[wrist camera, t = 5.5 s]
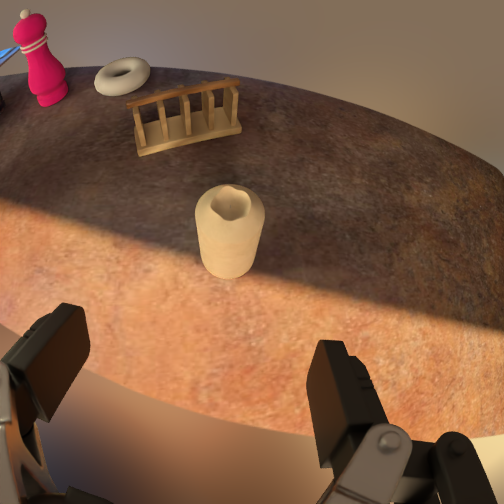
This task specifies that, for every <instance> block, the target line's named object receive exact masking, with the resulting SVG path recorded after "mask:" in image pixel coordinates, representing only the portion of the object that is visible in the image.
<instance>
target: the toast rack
mask: <svg viewBox="0 0 504 504" xmlns="http://www.w3.org/2000/svg"><path fill="white" fill-rule="evenodd" d="M239 85H240V80H239V79H238V78H235V79H230V77H224V80H220V81H214V82H207V80H204V81H201V84H196V85H191V86H186V87H184V85H183V84H182V85H178V88H176V89H171V90H167V91H162V92H160V90H155V93H154V94H150V95H146V96H142V97H138V98H137V95H135V96H132V97H131V100H127V101H126V106H127V109H129V108H133V116H134V120H135V124H136V126H135V127H134V132H135V139H136V146H137V152H138V155H139V157H140V156H144V155H148V154H151V153H155V152H159V151H162V150H166V149H170V148H174V147H178V146H182V145H187V144H191V143H195V142H200V141H204V140H209V139H214V138H218V137H223V136H229V135H234V134H239V133H241V131H242V126H241V124H240V122H239V120H238V118H237V106H238V94H239V93H238V91H237V89H236V88H235V86H239ZM220 88H224V96H223V107H218V108H214V95H213V93H212V91H211V90H214V89H220ZM197 92H202V111H197V112H192V113H190V101H189V99H188V96H187V94H192V93H197ZM177 96H179V102H180V112H181V115H179V116H174V117H170V118H166V115H165V108H164V104H163V100H164V99H168V98H173V97H177ZM155 101H156V103H157V109H158V115H159V120H158V121H154V122H150V123H146V124H143V122H142V118H141V113H140V109H139V106H140V105H144V104H147V103H151V102H155Z"/></svg>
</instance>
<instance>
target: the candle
mask: <svg viewBox="0 0 504 504" xmlns="http://www.w3.org/2000/svg"><path fill="white" fill-rule="evenodd" d="M195 218H196V225H197V232H198V239H199V245H200V252H201V257H202V261H203V264H204V266H205V267H206V269H207V270H208V271H209V272H210V273H211V274H213V275H214V276H216V277H218V278H222V279H234V278H238V277H240V276H242V275H244V274H245V273H246V272H247V271H248V270H249V269H250V267H251V266H252V264H253V261H254V258H255V254H256V250H257V246H258V243H259V239H260V235H261V231H262V227H263V223H264V218H265V211H264V206H263V204H262V202H261V200H260V199H259V197H258V196H257V195H256V194H255V193H254V192H252V191H251V190H249V189H248V188H246V187H243V186H240V185H234V184H225V185H220V186H216V187H214V188H212V189H210V190H208V191H207V192H206V193H205V194H204V195H203V196H202V197H201V198H200V199H199V201H198V203H197V206H196V210H195Z"/></svg>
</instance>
